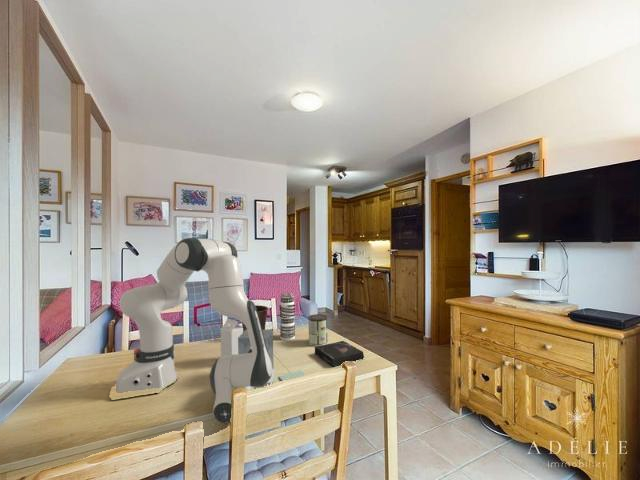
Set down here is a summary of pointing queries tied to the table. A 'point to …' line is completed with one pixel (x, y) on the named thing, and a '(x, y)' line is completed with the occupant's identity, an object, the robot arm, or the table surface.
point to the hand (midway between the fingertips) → (252, 367)
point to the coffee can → (317, 330)
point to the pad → (291, 375)
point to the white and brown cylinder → (287, 316)
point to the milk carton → (230, 337)
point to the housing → (245, 345)
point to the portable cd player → (338, 353)
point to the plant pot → (260, 316)
